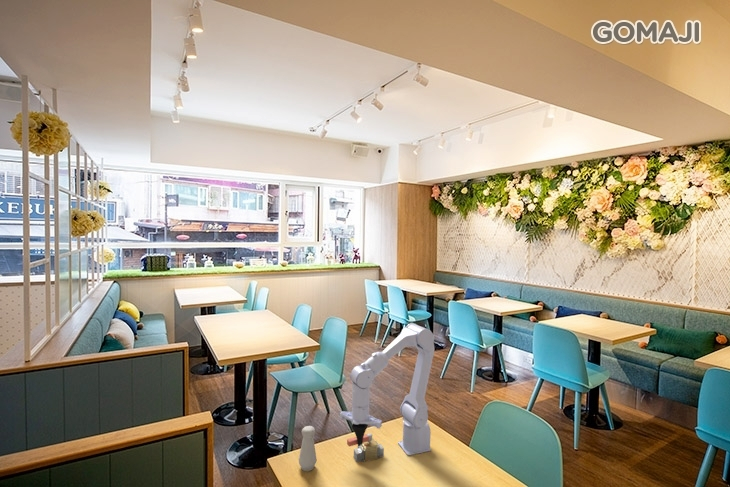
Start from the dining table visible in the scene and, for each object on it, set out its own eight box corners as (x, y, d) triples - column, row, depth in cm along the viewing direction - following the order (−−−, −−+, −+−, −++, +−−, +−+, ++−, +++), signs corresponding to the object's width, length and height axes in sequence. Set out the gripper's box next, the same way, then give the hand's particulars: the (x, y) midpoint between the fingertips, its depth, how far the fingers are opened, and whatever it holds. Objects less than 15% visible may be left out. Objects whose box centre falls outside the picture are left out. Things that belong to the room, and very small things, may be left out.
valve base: (379, 450, 128) (380, 434, 128) (384, 457, 124) (385, 441, 123) (352, 455, 124) (353, 439, 124) (357, 463, 120) (357, 446, 120)
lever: (370, 437, 125) (370, 432, 125) (373, 440, 123) (373, 435, 123) (346, 443, 121) (346, 439, 121) (349, 446, 119) (349, 442, 119)
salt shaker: (312, 474, 114) (313, 434, 113) (295, 471, 115) (296, 431, 115) (318, 463, 120) (319, 424, 119) (302, 460, 121) (303, 422, 120)
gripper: (335, 404, 119) (334, 444, 119) (376, 413, 113) (375, 456, 114) (345, 395, 126) (344, 434, 126) (384, 404, 120) (383, 444, 120)
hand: (359, 444), depth 120 cm, fingers closed, pressing on lever
